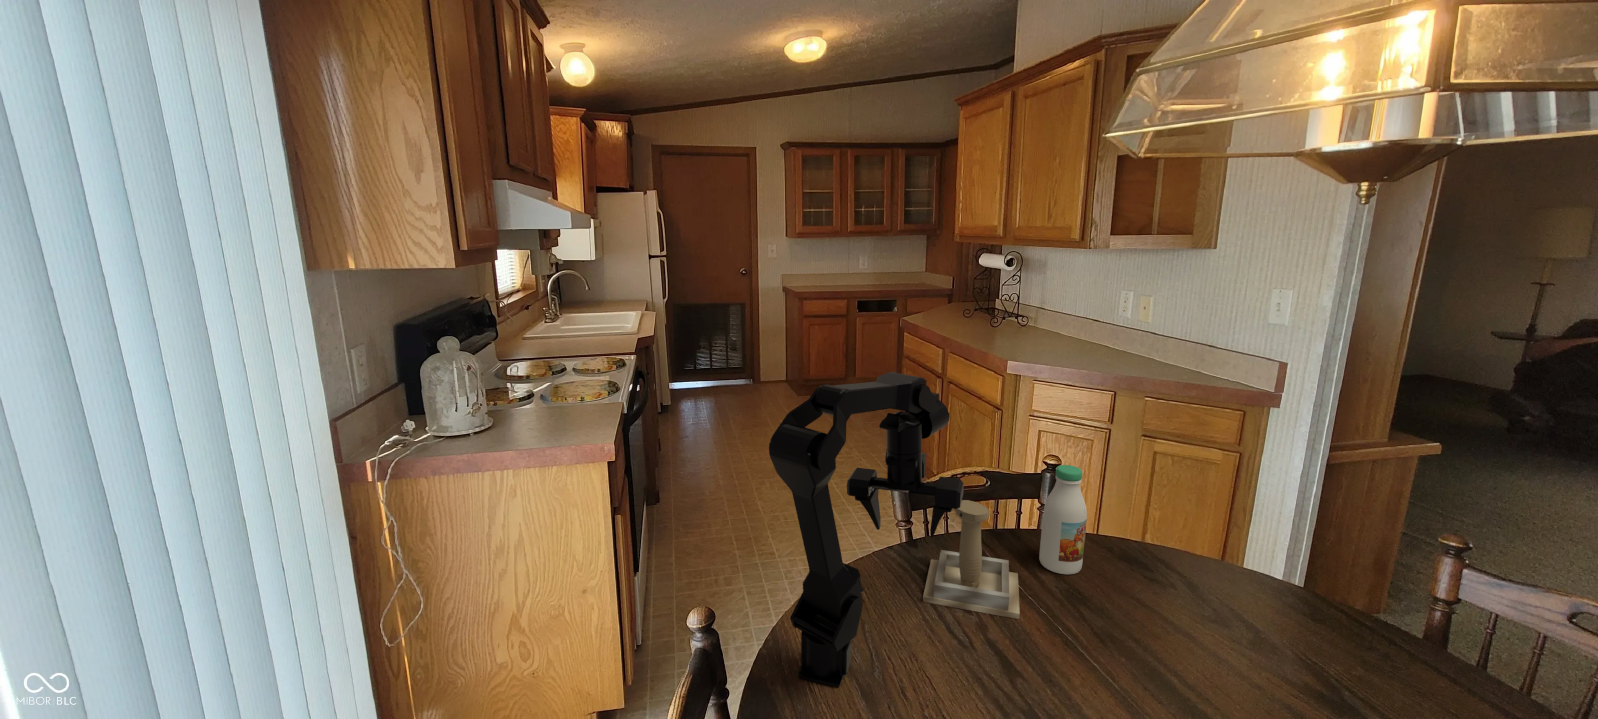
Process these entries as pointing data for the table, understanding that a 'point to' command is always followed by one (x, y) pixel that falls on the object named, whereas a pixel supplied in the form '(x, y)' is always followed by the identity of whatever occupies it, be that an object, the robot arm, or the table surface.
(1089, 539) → the table surface
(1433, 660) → the table surface
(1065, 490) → the milk bottle
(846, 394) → the robot arm
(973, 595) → the board
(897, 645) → the table surface
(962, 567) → the handle
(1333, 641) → the table surface
